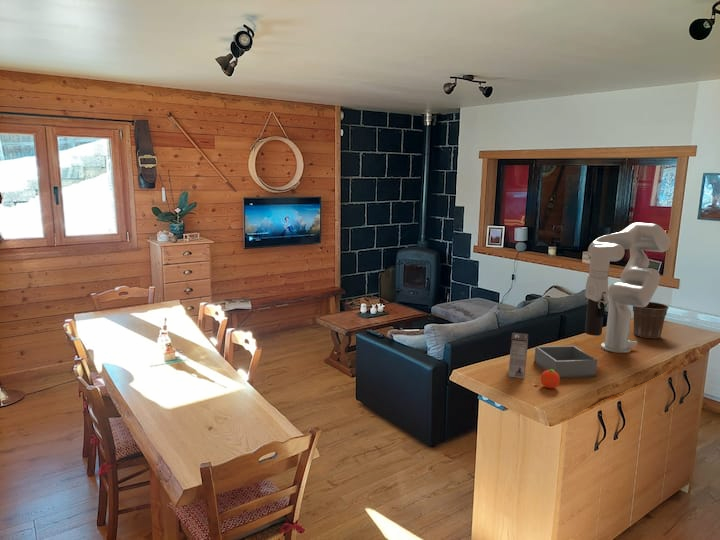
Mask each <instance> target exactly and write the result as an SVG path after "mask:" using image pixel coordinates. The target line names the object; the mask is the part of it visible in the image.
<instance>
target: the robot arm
mask: <svg viewBox="0 0 720 540" xmlns="http://www.w3.org/2000/svg"><path fill="white" fill-rule="evenodd" d="M670 247H671V239H670V236H669V234H668V232H666V230H664V228H663V227H661V226H660V225H659V224H657V223H648V222H633V223H629V225H628V226H626V227H625V228H623V229H622V230H620V231H619V232H614V233H610V234H605V235H602V236H599V237H597V238H595V240H593V241H592V242H591V243H590V244H589V246H588V247H587V254H588V255H589V258H590V260H589V270H588V276H587V279H586V283H585V291H584V297H585V299H586V303H587V300H588V299H591V300H593V301H595V302H597V304H598V308H597V313H596V317H603V318H604V316H605V309H606V307H607V305H608V313H607V321H606V331H605V337H604V339H605V341H604V342H602V343H601V344H600V348H601V349H603V350H605V351H608V352H610V353H611V352H612V353H616V354H617V353H618V354H627V353H630V352H631V351H632V349H631V346H638V341H635V340H634V341H632V340H629V337H630V326H631V318H632V311H631V310H630V308H629V306H632V307H633V306H636V307H645V306H647V305H648V303H649V302H651V300H652V298H653V296H654V294H655V293H656V291H657V289H658V286H659V284H660V280H661V275H660V272H659V271H658V270H657V269H655V268H651V267H650V268H649V266H650V260H649V258H648V256H647V254H646V253H645V252H646V251H647V252H656V253H664V252H667V251H668V250H669V249H670ZM625 250H629V260H628V262H627V264H626V265H625V267H624V268H623V270H622V272H621V274H620V282H619V281H617V282H612V283H611V284H610V285H609V273H610V272H609V271H610V264H611V263H610V262H619V261H621V260H622V259H623V258H624V256H625V253H626V252H625ZM644 251H645V252H644ZM600 300H602V301H600ZM600 302H602V304H601V305H600ZM586 312H587V309H586Z"/></svg>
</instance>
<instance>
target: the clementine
mask: <svg viewBox="0 0 720 540" xmlns="http://www.w3.org/2000/svg"><path fill="white" fill-rule="evenodd" d="M540 382H541V384H542V385H543V386H544V387H545V388H547V389H555V388H556V387H558V386H559V384H560V382H561V378H560V377H559V375H558V373H557V372H555V370H553V369H551V370H546V371H545V370H543V371H542V373H541V375H540Z"/></svg>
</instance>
